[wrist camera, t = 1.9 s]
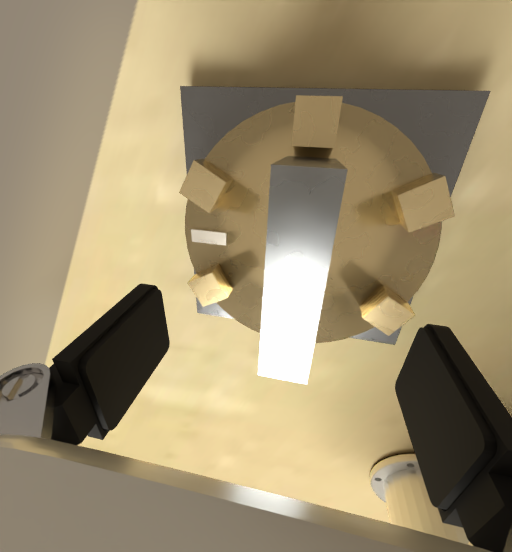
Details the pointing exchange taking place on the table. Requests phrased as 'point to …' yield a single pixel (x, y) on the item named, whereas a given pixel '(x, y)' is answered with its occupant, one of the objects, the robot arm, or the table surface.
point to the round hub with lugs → (312, 227)
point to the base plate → (383, 102)
